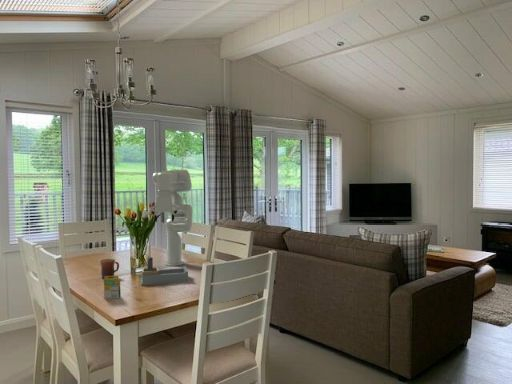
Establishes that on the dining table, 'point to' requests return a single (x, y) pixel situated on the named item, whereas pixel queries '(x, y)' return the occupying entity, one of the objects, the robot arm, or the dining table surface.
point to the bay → (166, 276)
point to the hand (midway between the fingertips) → (164, 221)
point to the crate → (150, 268)
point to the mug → (108, 267)
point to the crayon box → (111, 287)
